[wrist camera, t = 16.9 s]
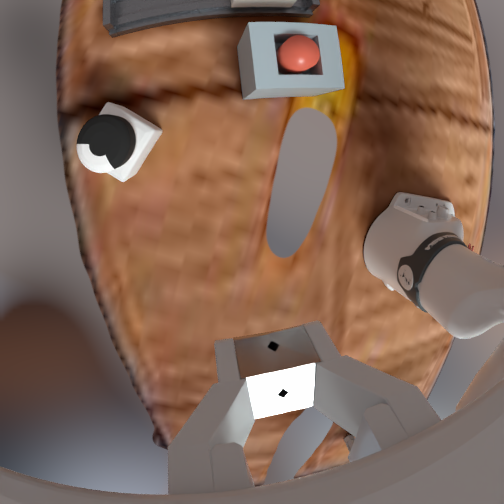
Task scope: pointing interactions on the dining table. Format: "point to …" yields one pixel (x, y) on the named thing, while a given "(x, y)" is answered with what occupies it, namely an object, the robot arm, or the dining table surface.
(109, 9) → the rail
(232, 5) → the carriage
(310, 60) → the button
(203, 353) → the dining table surface
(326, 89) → the gauge cabinet
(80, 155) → the medicine bottle
